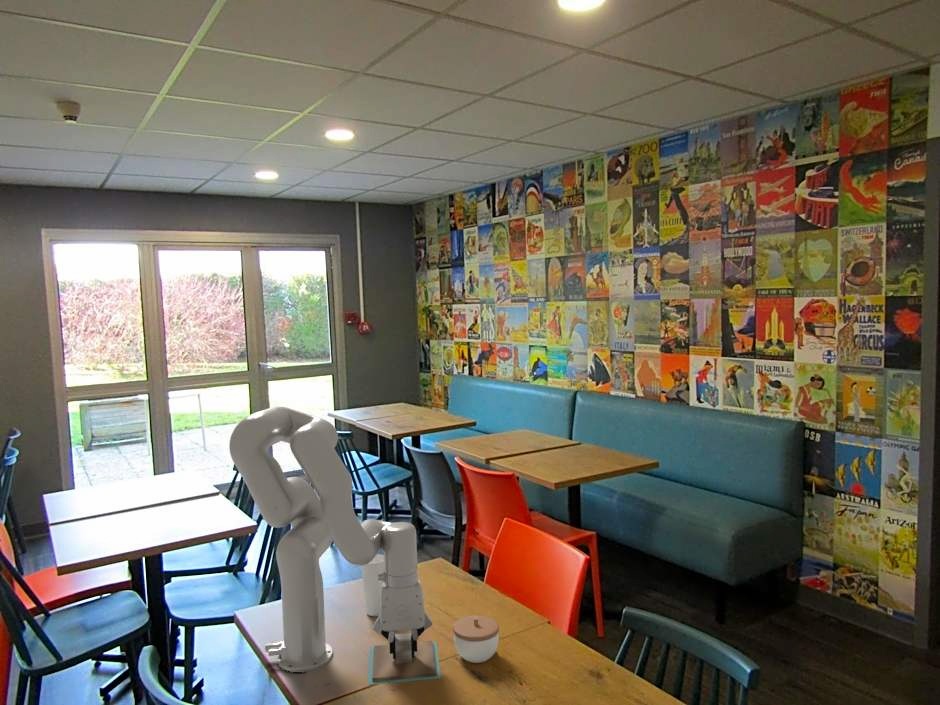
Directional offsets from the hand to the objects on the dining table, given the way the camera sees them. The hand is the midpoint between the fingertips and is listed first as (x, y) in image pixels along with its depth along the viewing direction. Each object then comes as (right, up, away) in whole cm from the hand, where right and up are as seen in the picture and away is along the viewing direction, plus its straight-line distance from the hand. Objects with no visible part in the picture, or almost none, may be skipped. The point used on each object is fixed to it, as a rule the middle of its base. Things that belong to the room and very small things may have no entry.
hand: (403, 654), depth 150 cm
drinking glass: (-10, -1, +26) cm, 28 cm away
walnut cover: (0, -2, 0) cm, 2 cm away
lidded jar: (+17, -2, +2) cm, 17 cm away
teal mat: (0, -2, 0) cm, 2 cm away
